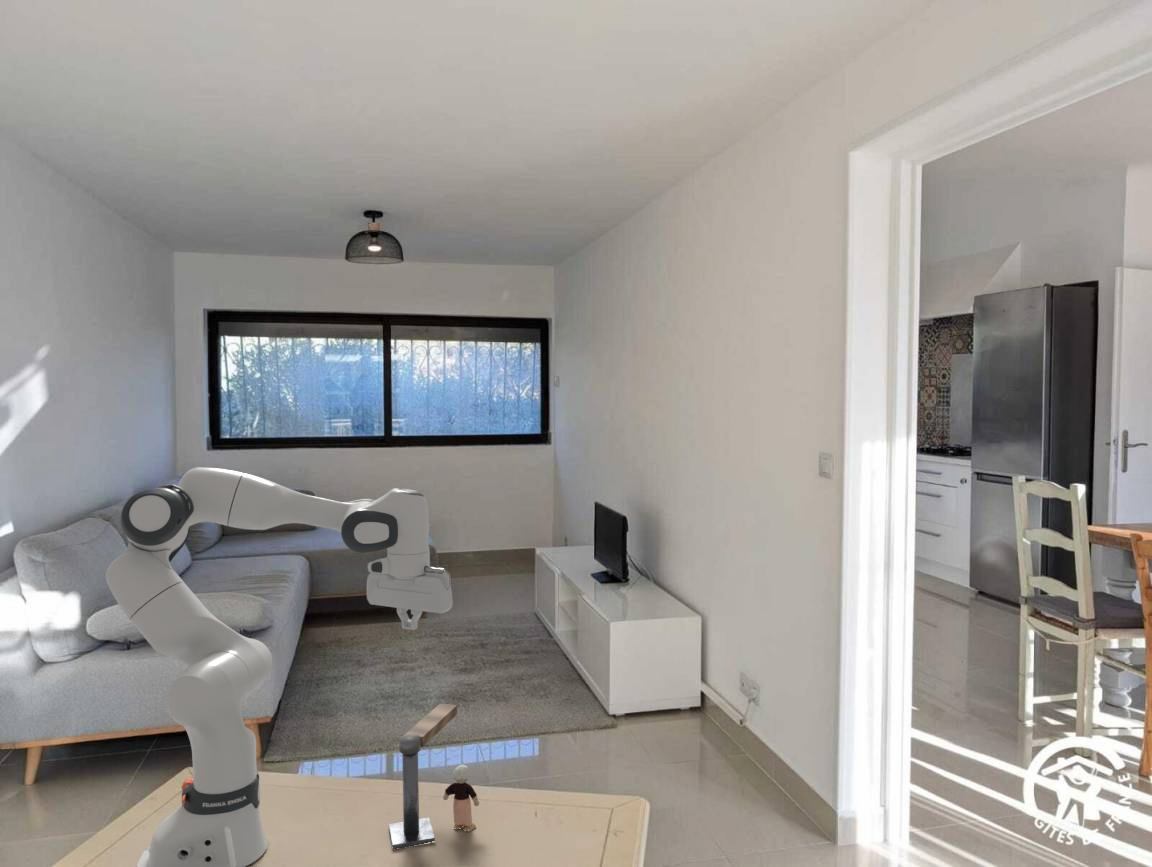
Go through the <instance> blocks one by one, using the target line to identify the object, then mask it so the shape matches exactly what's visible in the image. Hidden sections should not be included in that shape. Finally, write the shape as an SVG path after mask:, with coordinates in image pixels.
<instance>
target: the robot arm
mask: <svg viewBox="0 0 1152 867" xmlns="http://www.w3.org/2000/svg"><path fill="white" fill-rule="evenodd" d="M199 523H215V524H218V525H223V526H226V527H230V528H235V529H239V530H240V529H241V530H250V531H251V530H253V531H256V530H257V531H265V530H268V529H272V528H275V527H279V526H282V525H285V524H301V525H303V524H304V525H307V526H308V525H309V526H313V527H317V528H318V527H319V528H324V529H328V530H334V531H337V532H339V533H340V534H341V538H342V541H343V543H344V544H345V546H346V547H348V549H349V550H350V551H353V552H356V553H358V554H370V553H373V552H377V551H381V550H387V556H383V557H382V558H378V559H375V560H373V561H370V562H368V563H367V571H368V573H369V574H368V575H367V579H366V600H367V602H368V604H369V605H375V606H381V607H382V606H383V607H390V608H396V613H397V615H398V617H399V619H400V621H401V628H402V629H403V630H409V631H410V630H411V631H415V630H417V629H418V627H419V626H418V625H419V624H418V622H419V620H420V618H421V616H422V614H423V612H427V613H435V614H444V613H447V612H449V611H450V610H451V609H452V608H453V605H454V601H453V600H454V599H453V591H452V585H451V574H450V573H449V572H448V571H447V570H446V569H445V568H444V567H434V566H431V561H430V560H431V559H430V555H431V554H430V553H431V552H430V545H429V541H428V539H429V538H428V537H429V533H430V516H429V505H428V500H427V498H426V497H425V495H423V494H422V493H421V492H419V491H418V490H414V489H410V488H403V487H402V488H401V487H400V488H399V487H394V488H391V489H390V490H389V491H388V492H387V493H385V494H383V495H382V496H380V497H378V498H377V499H372V498H363V499H361V498H360V499H356V500H351V501H349V500H348V501H341V500H335V499H330V498H325V497H321V496H318V495H311V494H307V493H303V492H299V491H296V490H294V489H291V488H288V487H286V486H284V485H281V484H279V483H277V482H274V481H271V480H269V479H266V478H263V477H261V476H257V475H254V474H250V473H246V472H241V471H238V470H232V469H227V468H217V467H204V466H203V467H202V466H200V467H199V466H197V467H193V468H191V469H189V470H187V471H186V472H185V473H184V474H183V475H182V477H181V479H180V480H179V481H178V484H168V485H164V486H160V487H157V488H156V487H155V488H150V489H146V490H142V491H139V492H136V494H134V495H132V496H131V497H129V498H128V500H126V502H125V503H124V505H123V507H122V509H121V512H120V526H121V530H122V532H123V533H124V535H125V536H126V539H127V542H128V544H127V548H126V549H125V550H124V552H123V553H120V555H119V556H117V557H115V559H113V561H111V563H110V564H109V566H108V568H106V572H105V580H106V583H107V585H108V588H109V590H110V592H111V594H112V596H113V597H114V599H115V601H116V602H117V604H118V606H119V607H120V609H121V610H122V611H123V613H124V614H125V616H126V617H127V618H128V619H129V620H130V622H131V623H132V624H133V625H134V627H135V628H136V629H137V630H138V631H139V633H140V634H141V636H143V638H144V639H145V640H146V642H147V643H148V644H149V645H150V646H151V648H152V649H153V650H154V651H156V652H157V653H159V654H160V655H163V656H169V657H172V658H175V659H177V660H179V661H181V662H182V663H184V664H185V665H187V667H186V668H184V669H183V670H182V672H180V673H179V675H178V676H177V677H176V678H175V679H174V680H173V682H172V683H171V684H169V687H168V689H167V691H166V694H165V706H166V709H167V712H168V715H169V716H170V717H171V719H172V720H173V721H174V722H175V723H177V725H179V726H182V727H184V729H185V731H186V733H187V737H188V739H189V743H190V748H191V755H192V756H191V758H192V774H193V776H192V777H193V778H190V777H189V778H185V779H184V780H183V782H182V785H181V791H182V792H181V804H182V805H180V806H179V807H178V808H177V809H175V810H174V811H173V812H172V813H171V814H169V815H168V816H166V817H165V818H164V819H163V820H162V821H161V822H160V823H159V824H158V826H157V827H156V829H155V831H154V833H153V834H152V838H151V842H150V845H149V846H148V847H147V848H146V849H145V850H144V851H143V852H142V854H141V855H140V857H139V858H138V861H137V864H136V867H247V866H249V865H250V864H253V863H254V862H256V861H257V860H259V859H260V858H261V857H263V855H264V854H265V853H266V851H267V850H268V844H269V843H268V839H267V838H266V835H265V831H264V829H263V828H264V827H263V823H262V819H261V818H262V817H261V812H260V803H261V781H260V774H259V772H258V771H257V741H256V740H257V739H256V735H255V733H254V732H253V731H252V730H251V729H250V728H249V727H247V726H246V724H245V722H244V717H243V713H242V707H243V704H244V701H245V700H247V699H248V698H250V696H252V695H253V694H255V693H256V692H257V691H258V690H259V689H260V688H261V687H262V686H263V684H264V683H265V682H266V681H267V679H268V677H269V675H270V674H271V672H272V670H273V657H272V653H271V651H270V649H269V647H268V646H267V645H266V644H265V643H264V642H262V641H260V640H258V639H256V638H250V637H246V636H244V635H243V634H241V633H239V632H237V631H235V630H234V629H232V628H231V627H230V626H229V625H227V624H225V623H224V622H223V621H221V620H220V619H218V618H217V617H216V616H215V615H214V614H213V613H212V612H210V610H209V609H208V608H207V607H206V606H205V605H204V604H203V602H201V600H200V599H199V598H198V597H197V596H196V594H194V592H193V591H192V590H191V589H190V588H189V586H188V585H187V584H186V583H185V582H184V580H183V579H182V578H181V577H180V575H178V572H177V571H175V569H174V568H173V566H172V565H171V561H172V560H173V559H174V558H175V556H176V555H177V554H178V553H179V552H180V551H181V549H182V548H184V545H185V544H186V543H187V541H188V538H189V536H190V531H191V529H190V528H191V526H193V525H195V524H196V525H197V524H199ZM409 610H410V614H411V615H412V616H411V619H410V617H409V615H408V611H409Z"/></svg>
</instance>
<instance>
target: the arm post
mask: <svg viewBox="0 0 1152 867" xmlns="http://www.w3.org/2000/svg"><path fill="white" fill-rule="evenodd" d="M401 754H402V753H401ZM401 759H402V802H403V803H402V805H403V806H402V809H403V812H402V814H403V818H402V820H403V821H400V822H393V823H389V824H388V831H390V832H389V836H391V837H390V842H392V843H391V847H393V848H392V850H393V849H396V850H398V849H397V848H401V849H406V848H405V847H407V848H410V847H409V846H413V847H415V846H414V845H419V844H424V843H428V842H432V841H435V842H436V838H435V834H434V830H433V827H432V824H431V820H430V817H424V818H420V804H419V801H420V799H419V797H420V796H419V752H417V753H415V754H402V758H401ZM424 845H425V844H424ZM419 846H420V845H419Z"/></svg>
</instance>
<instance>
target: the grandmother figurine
mask: <svg viewBox="0 0 1152 867" xmlns="http://www.w3.org/2000/svg"><path fill="white" fill-rule="evenodd" d="M469 773H470V771H469V767H468V766H467V765H465V764H460V765H458V766H456V767H455V769H454V770H453V773H452V775H451V777H452V779H453V780H455V781H456V782H453V783H451V784H450V785H448V786H447V788H445V790H444V795H443V797H442V798H443V800H444V801H448V799H449V796H452V795H454V796H453V809H452V810H453V823H454V826H453V828H456V829H459V828H461V827H462V826H463V825H464V826H463V831H464V830H466V831H468V830H469V832H471V831H473V830H475V829H476V828H477V826H476V824H475V823H474V822H473V816H472V814H473V813H472V804H471V803H472V802H473V805H474V806H475V807H477V806H479V805H480V801H479V799H478V796H477V795H478V794H477V792H476V791H475V790H474V788H473V786H472V785H471V784H469V783H467V781H468V779H469ZM471 800H472V802H471ZM475 827H476V828H475ZM474 828H475V829H474ZM472 829H473V830H472ZM470 830H471V831H470ZM466 831H465V832H466Z"/></svg>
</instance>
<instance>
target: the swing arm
mask: <svg viewBox="0 0 1152 867" xmlns="http://www.w3.org/2000/svg"><path fill="white" fill-rule="evenodd" d="M457 715H458V705H457V704H450V703H449V704H448V703H439V704H438V705H436V706H435V707H434V708H433V709H431V711H430V712H429V713H427V714H425V716H424V717H422V718H421V720H420V721H418V722H417V723H416V724H415V725H413V726H412V727H411V728H410V729H409V730H408V731H407V732H405V734H403V735H402V736H400V737H399V753H400V754H415V753H417V752H418V753H419V752H420V751H421V748H423V747H425V745H427V743H428V742H430V741H431V740H432V739H433V738H434V737H435V736H436V735H438V733H439V732H440V731H441V730H442V729H443V728H444V727H445V726H447V725H448V723H450V722H451V721H452V720H453V718H455V717H456V716H457Z"/></svg>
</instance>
